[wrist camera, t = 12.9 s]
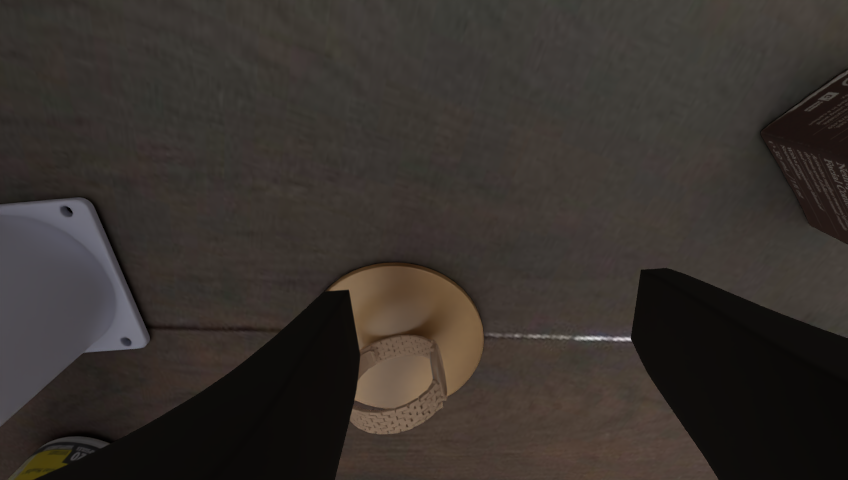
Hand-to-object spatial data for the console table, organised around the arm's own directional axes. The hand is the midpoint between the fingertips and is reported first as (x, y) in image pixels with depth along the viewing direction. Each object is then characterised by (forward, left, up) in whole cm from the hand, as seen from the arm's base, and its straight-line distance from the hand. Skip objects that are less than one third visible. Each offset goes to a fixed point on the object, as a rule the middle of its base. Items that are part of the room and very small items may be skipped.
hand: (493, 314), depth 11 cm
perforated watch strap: (-4, -7, -9) cm, 12 cm away
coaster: (-4, -7, -9) cm, 12 cm away
